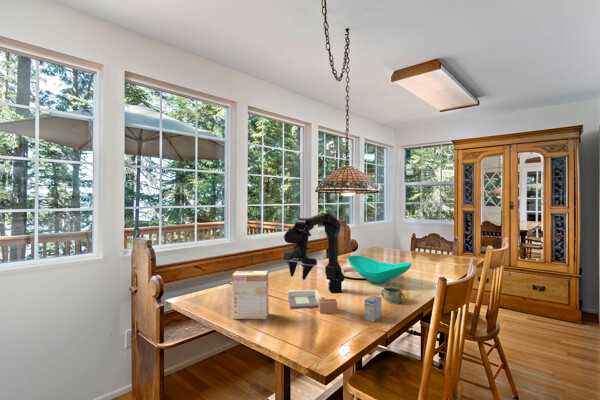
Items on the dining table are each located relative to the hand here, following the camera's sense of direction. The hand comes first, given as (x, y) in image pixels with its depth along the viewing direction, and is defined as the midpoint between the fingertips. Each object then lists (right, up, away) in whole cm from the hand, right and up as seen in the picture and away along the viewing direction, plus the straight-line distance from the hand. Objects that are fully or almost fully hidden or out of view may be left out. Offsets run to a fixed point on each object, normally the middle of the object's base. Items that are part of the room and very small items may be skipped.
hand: (297, 278), depth 145 cm
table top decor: (+49, -14, +45) cm, 68 cm away
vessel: (+48, -15, +11) cm, 51 cm away
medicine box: (+33, -15, -10) cm, 38 cm away
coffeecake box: (-21, -15, -8) cm, 27 cm away
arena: (+3, -15, +9) cm, 17 cm away
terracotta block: (+14, -15, -2) cm, 20 cm away
